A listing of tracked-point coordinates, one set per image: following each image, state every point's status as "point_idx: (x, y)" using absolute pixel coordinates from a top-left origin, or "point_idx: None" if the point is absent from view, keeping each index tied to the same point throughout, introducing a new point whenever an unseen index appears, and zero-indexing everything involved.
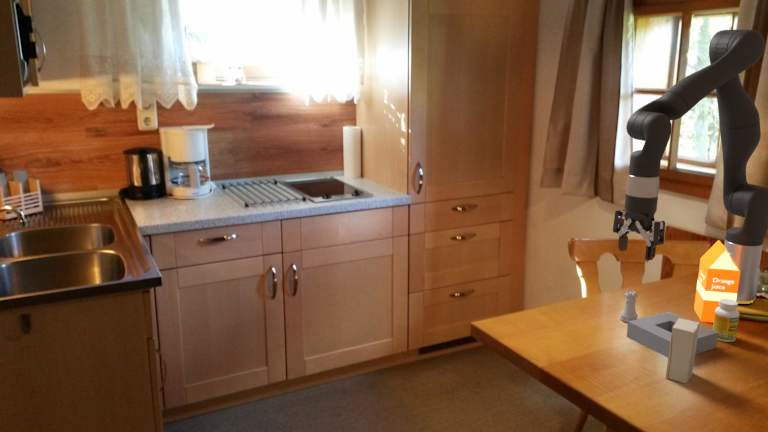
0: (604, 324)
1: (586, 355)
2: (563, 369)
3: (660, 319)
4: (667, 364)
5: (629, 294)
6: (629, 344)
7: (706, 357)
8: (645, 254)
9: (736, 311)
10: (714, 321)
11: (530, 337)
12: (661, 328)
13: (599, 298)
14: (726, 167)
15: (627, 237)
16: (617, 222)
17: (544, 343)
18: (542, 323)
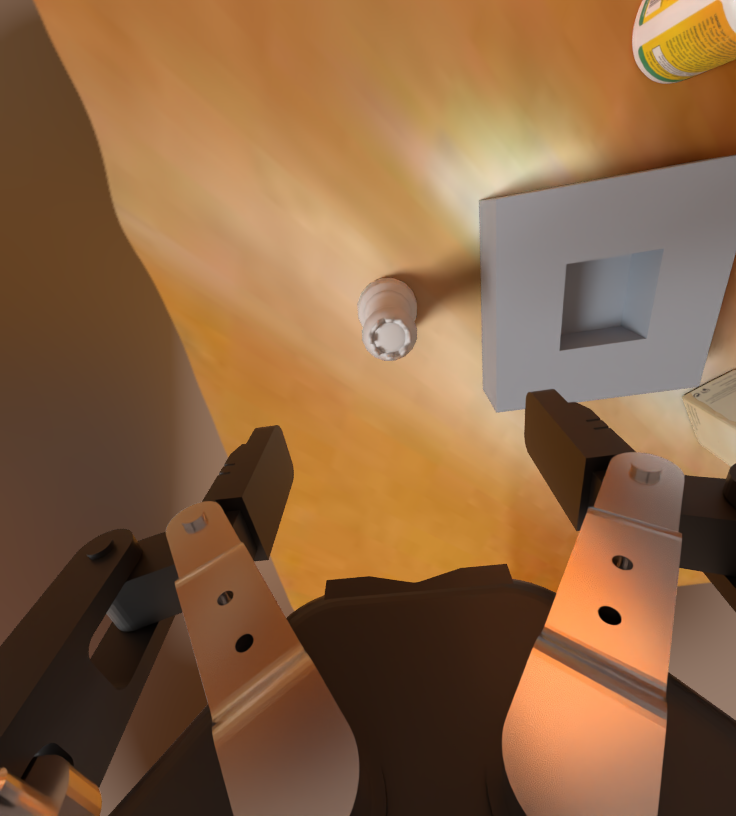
0: (389, 397)
1: (517, 524)
2: (541, 582)
3: (538, 296)
4: (730, 465)
5: (398, 353)
6: (524, 411)
7: None
8: (540, 472)
9: None
10: (700, 54)
11: (395, 572)
12: (593, 347)
13: (182, 281)
14: None
15: (247, 499)
16: (121, 736)
17: (431, 563)
18: (335, 525)
